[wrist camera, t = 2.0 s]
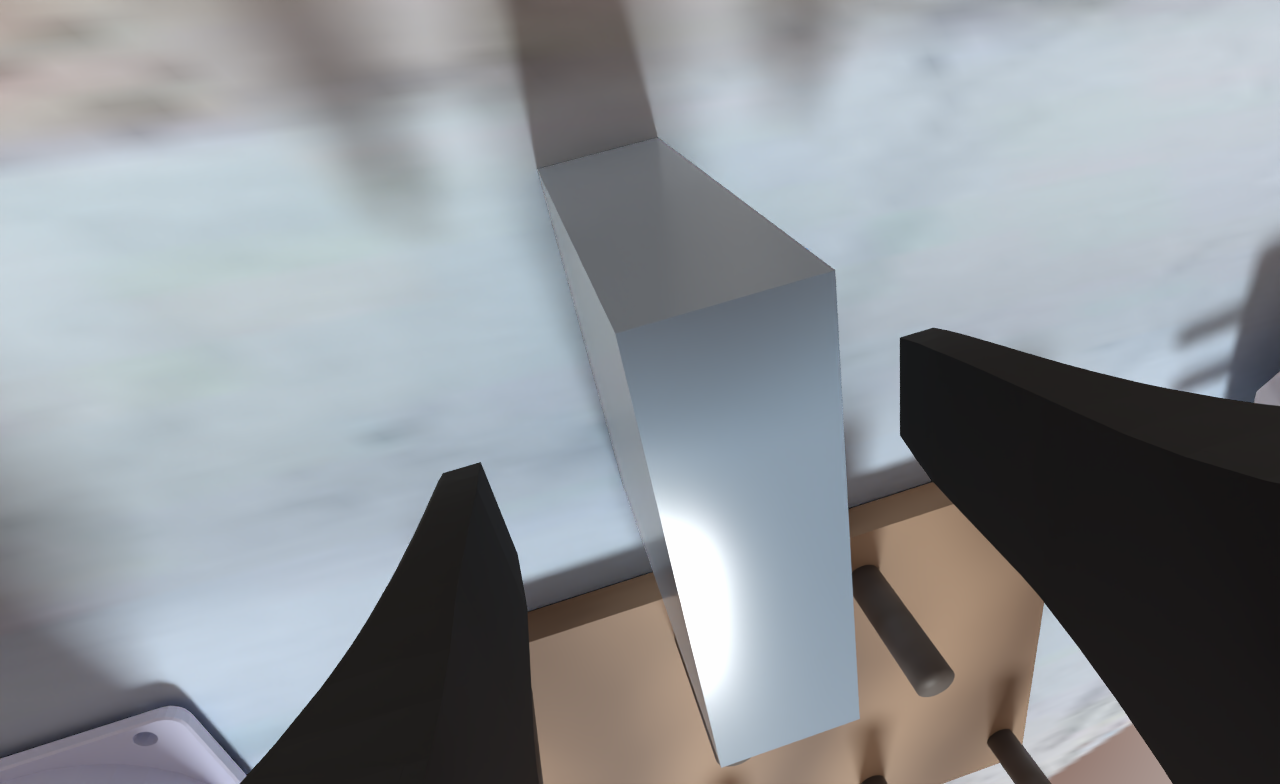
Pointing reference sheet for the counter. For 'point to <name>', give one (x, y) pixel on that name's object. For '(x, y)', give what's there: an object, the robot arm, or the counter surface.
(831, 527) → the tile
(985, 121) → the counter surface
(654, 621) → the rack
